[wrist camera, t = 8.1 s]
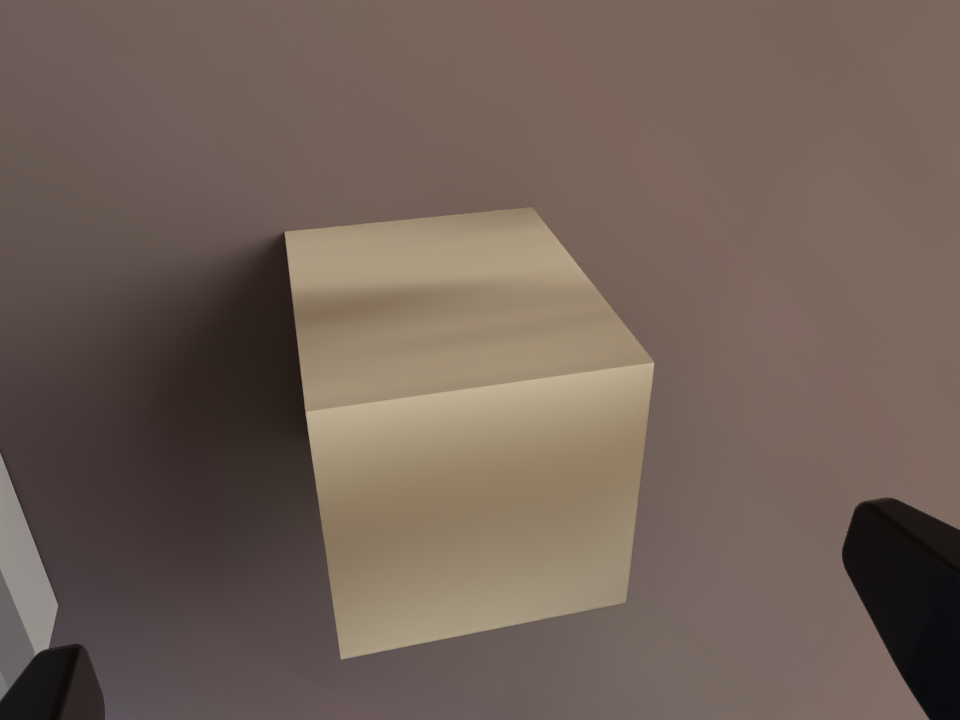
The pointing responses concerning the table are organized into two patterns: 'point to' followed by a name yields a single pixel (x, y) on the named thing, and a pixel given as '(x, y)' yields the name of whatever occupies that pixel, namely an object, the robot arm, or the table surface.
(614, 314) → the block
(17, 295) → the table surface
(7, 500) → the breaker panel
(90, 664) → the robot arm
